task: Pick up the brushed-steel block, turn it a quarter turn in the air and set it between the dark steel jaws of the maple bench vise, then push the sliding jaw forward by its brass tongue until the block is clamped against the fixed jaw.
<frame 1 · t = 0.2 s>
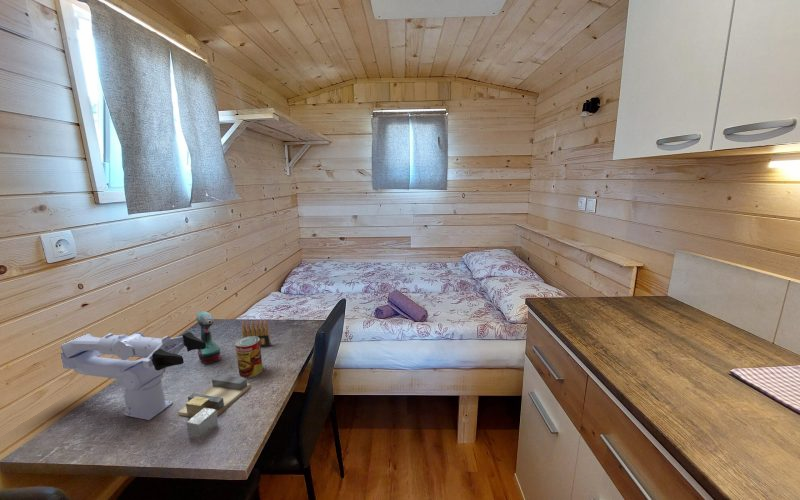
hand: (193, 352, 93), 21 cm above the table, tool horizontal, fingers open, 7 cm apart
steel block: (204, 431, 93), on the table
ammunition clip: (257, 347, 141), on the table
canned food: (251, 371, 122), on the table
sliding jaw: (201, 403, 100), point 3 cm above the table, slide at 0.0 cm
power drill: (211, 361, 130), on the table
vise: (216, 399, 106), on the table
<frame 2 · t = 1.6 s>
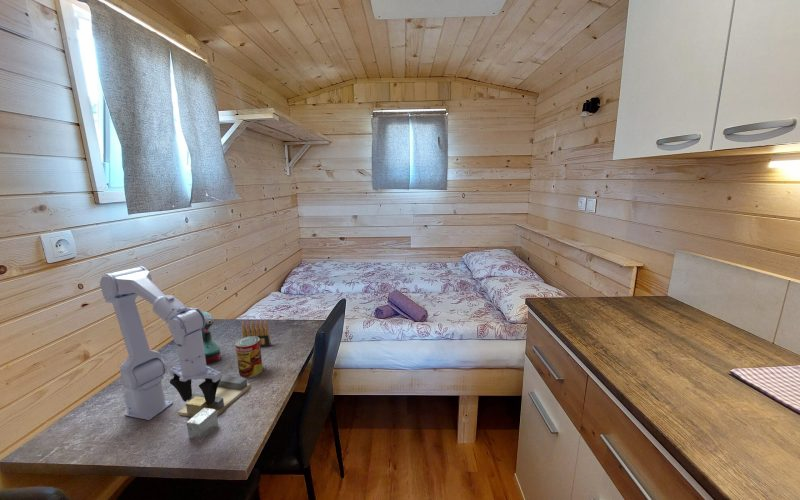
hand: (199, 401, 91), 9 cm above the table, tool pointing down, fingers open, 7 cm apart
nothing on the table moved.
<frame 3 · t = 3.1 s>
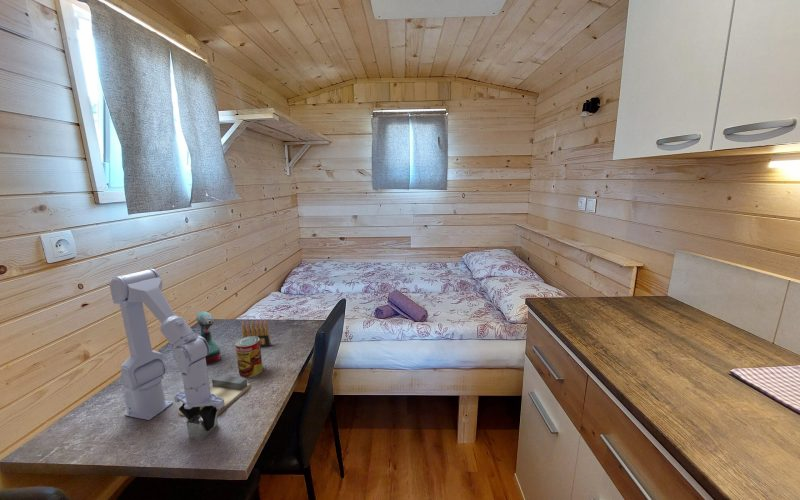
hand: (203, 426, 93), 1 cm above the table, tool pointing down, fingers closed on steel block, 4 cm apart
steel block: (203, 431, 93), on the table, touching gripper
everything else where it was.
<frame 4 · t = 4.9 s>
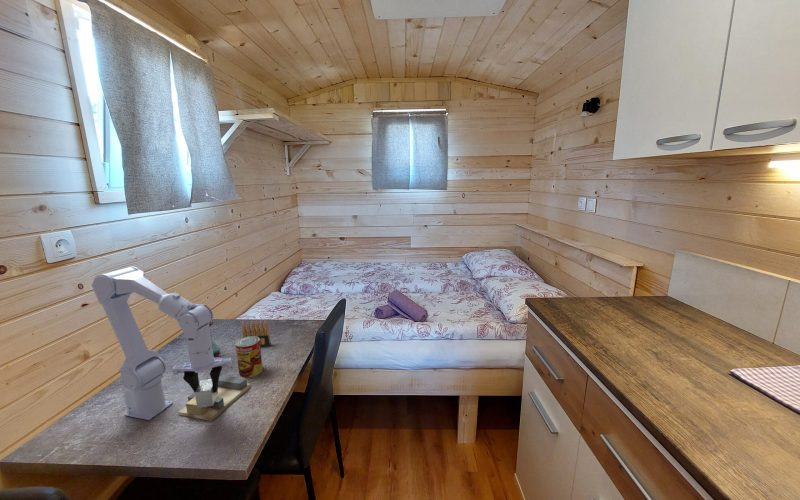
hand: (206, 391, 97), 8 cm above the table, tool pointing down, fingers closed on steel block, 4 cm apart
steel block: (207, 400, 97), point 6 cm above the table, touching gripper
everything else where it was.
when the fingers open (4 cm above the table, at t = 7.1 s): steel block stays where it is, resting on vise.
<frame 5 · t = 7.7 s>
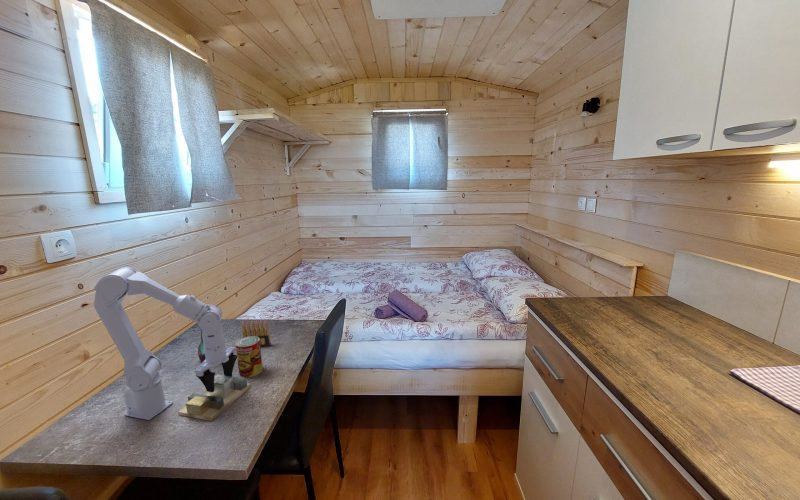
hand: (219, 384, 108), 4 cm above the table, tool pointing down, fingers open, 7 cm apart
steel block: (222, 393, 108), point 1 cm above the table, touching vise
everything else where it was.
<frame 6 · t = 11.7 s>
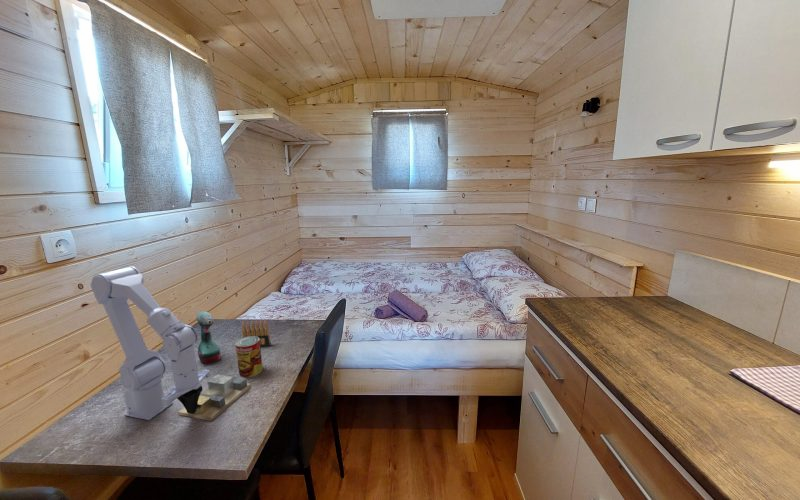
hand: (191, 411, 97), 2 cm above the table, tool pointing down, fingers closed
sliding jaw: (202, 402, 101), point 3 cm above the table, slide at 0.5 cm, touching gripper
everything else where it was.
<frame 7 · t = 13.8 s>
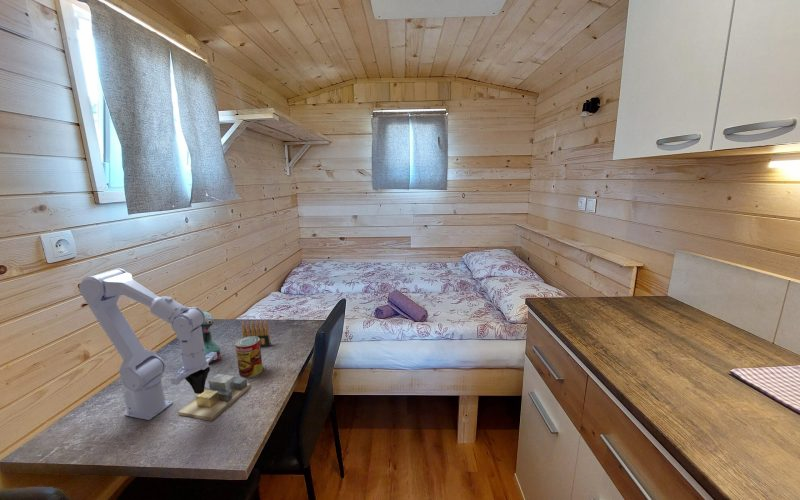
hand: (199, 392, 100), 6 cm above the table, tool pointing down, fingers closed
steel block: (223, 392, 109), point 1 cm above the table, touching sliding jaw, vise
sliding jaw: (210, 396, 104), point 3 cm above the table, slide at 3.5 cm, touching steel block
everything else where it was.
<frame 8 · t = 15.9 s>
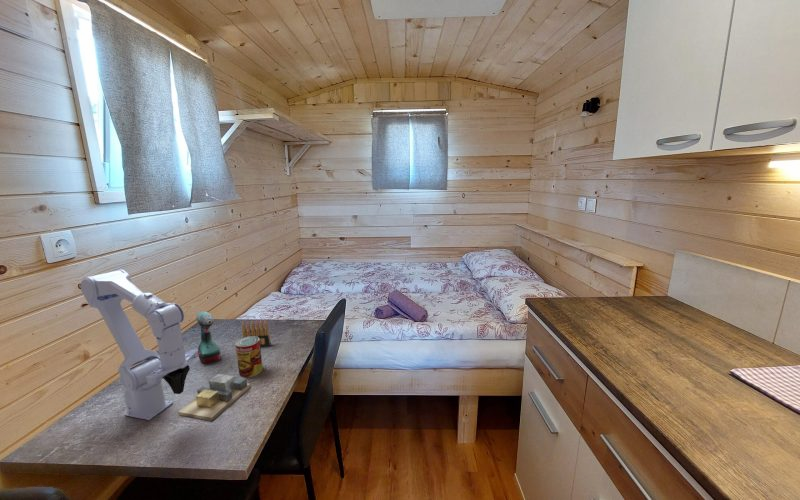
hand: (178, 392, 95), 9 cm above the table, tool pointing down, fingers closed
nothing on the table moved.
at the end: sliding jaw slide at 3.5 cm; steel block tilted 0°; steel block 0.4 cm from the target spot on the vise, point 1.0 cm above the vise's base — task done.
